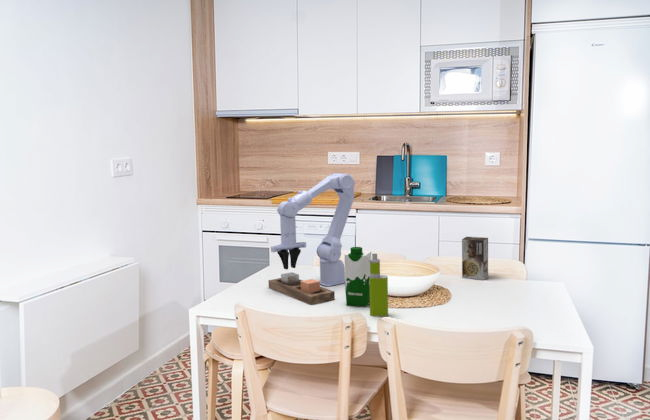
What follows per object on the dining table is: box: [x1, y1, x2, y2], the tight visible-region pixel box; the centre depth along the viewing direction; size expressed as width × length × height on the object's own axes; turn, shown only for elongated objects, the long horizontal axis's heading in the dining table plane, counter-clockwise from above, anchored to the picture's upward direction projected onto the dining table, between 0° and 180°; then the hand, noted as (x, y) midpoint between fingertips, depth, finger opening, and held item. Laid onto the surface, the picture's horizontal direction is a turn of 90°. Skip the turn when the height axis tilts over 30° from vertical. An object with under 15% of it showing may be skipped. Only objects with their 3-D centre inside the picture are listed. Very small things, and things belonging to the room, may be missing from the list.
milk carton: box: [344, 246, 372, 308], centre depth 195 cm, size 9×9×20 cm
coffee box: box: [461, 236, 489, 281], centre depth 226 cm, size 9×6×16 cm
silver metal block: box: [280, 272, 300, 285], centre depth 216 cm, size 5×5×3 cm
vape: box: [369, 253, 389, 317], centre depth 182 cm, size 4×6×20 cm, turn 81°
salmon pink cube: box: [301, 278, 321, 294], centre depth 204 cm, size 5×5×3 cm
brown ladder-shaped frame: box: [268, 277, 336, 306], centre depth 210 cm, size 10×30×3 cm, turn 35°
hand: (289, 268), depth 215 cm, fingers open, 3 cm apart
